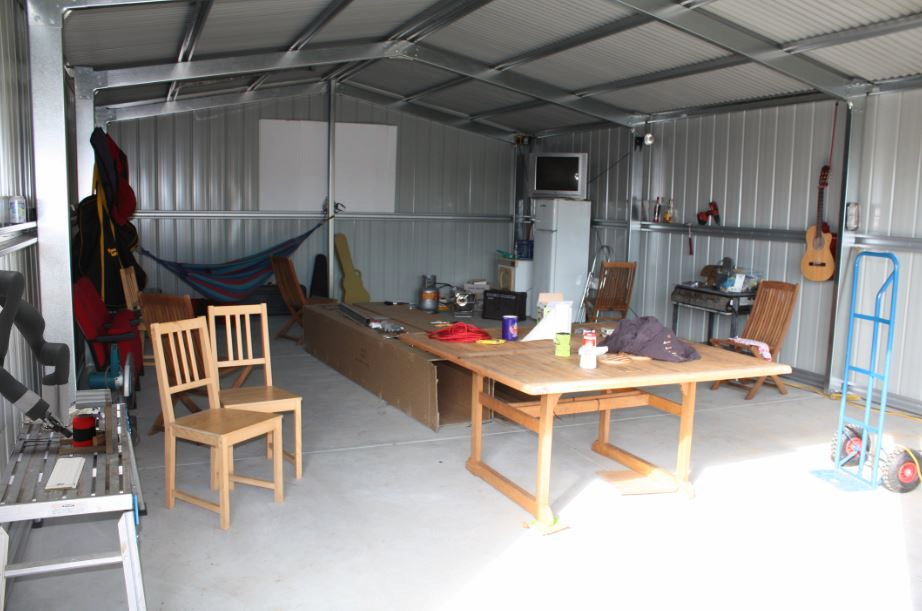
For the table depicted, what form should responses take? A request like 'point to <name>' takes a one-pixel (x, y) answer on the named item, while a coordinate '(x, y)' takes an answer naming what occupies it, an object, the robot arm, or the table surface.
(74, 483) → the baseboard
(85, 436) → the soda can
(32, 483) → the table surface
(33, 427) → the table surface
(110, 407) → the overhang shelf
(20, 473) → the table surface
